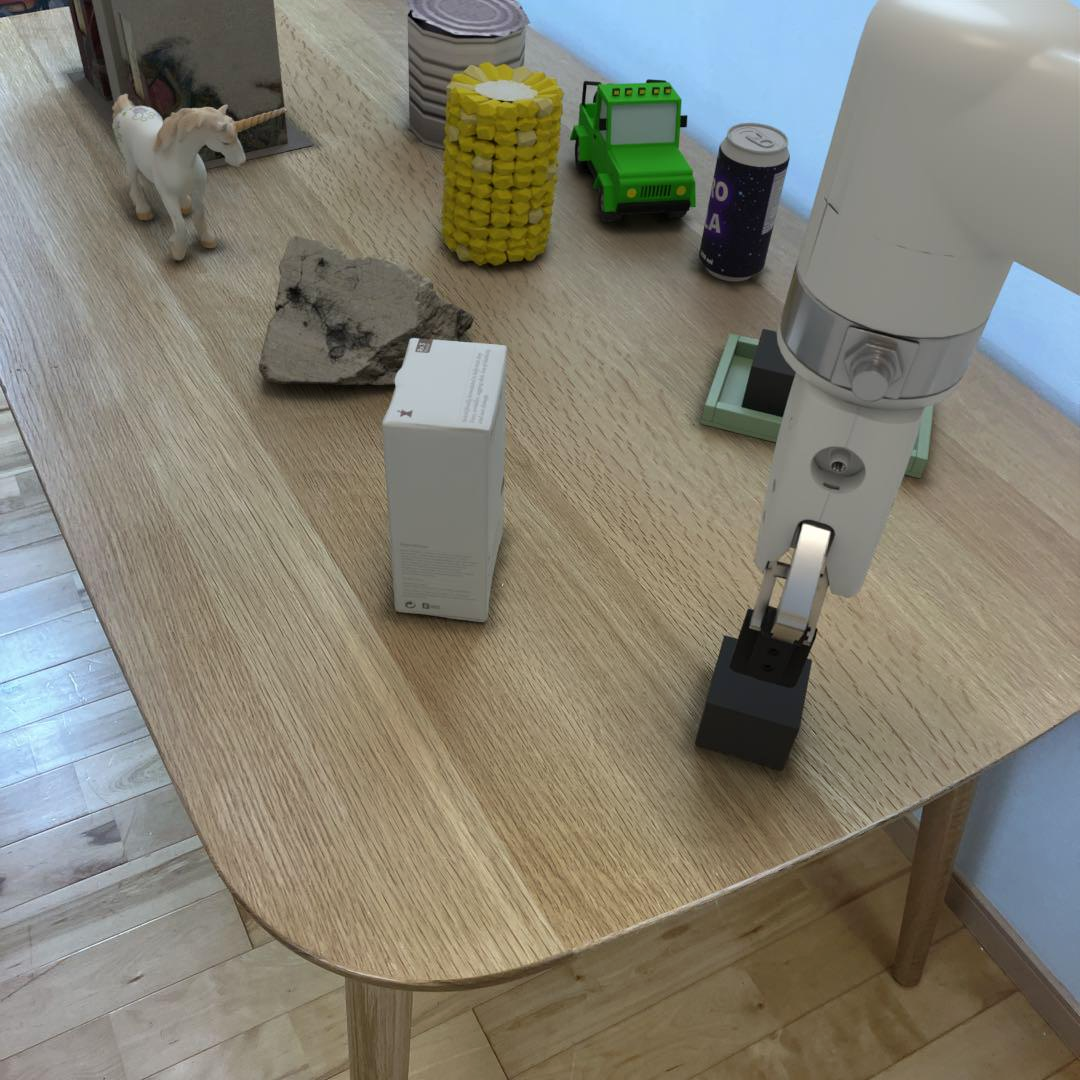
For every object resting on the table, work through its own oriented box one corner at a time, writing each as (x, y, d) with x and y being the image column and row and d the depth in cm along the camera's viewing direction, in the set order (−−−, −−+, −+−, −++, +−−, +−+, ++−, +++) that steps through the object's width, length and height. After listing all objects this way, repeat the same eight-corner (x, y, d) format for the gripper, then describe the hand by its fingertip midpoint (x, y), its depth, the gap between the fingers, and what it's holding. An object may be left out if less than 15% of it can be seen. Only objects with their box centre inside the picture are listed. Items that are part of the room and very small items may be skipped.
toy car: (605, 237, 99) (617, 129, 92) (562, 146, 111) (570, 44, 104) (695, 232, 101) (714, 126, 94) (643, 142, 113) (657, 42, 105)
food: (430, 276, 96) (475, 226, 103) (558, 281, 92) (595, 228, 99) (392, 95, 87) (443, 54, 94) (532, 91, 83) (576, 49, 90)
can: (444, 92, 118) (444, -29, 109) (541, 120, 115) (549, -2, 106) (387, 135, 110) (382, 9, 102) (489, 165, 107) (493, 38, 99)
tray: (929, 399, 86) (936, 381, 85) (920, 478, 79) (927, 459, 78) (725, 351, 89) (729, 332, 87) (700, 423, 82) (704, 404, 81)
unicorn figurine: (239, 300, 89) (215, 141, 80) (80, 215, 96) (40, 59, 87) (303, 263, 93) (287, 108, 84) (146, 184, 101) (115, 33, 91)
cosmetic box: (487, 625, 67) (496, 437, 57) (388, 614, 68) (378, 424, 57) (503, 527, 73) (514, 341, 63) (412, 517, 73) (407, 329, 63)
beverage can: (728, 244, 100) (755, 114, 91) (775, 273, 97) (808, 141, 89) (683, 263, 97) (707, 131, 89) (730, 293, 94) (760, 160, 86)
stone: (494, 377, 84) (499, 261, 77) (269, 416, 80) (253, 296, 72) (450, 293, 92) (450, 180, 85) (242, 324, 87) (224, 207, 80)
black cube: (796, 701, 65) (812, 659, 62) (782, 771, 62) (799, 729, 59) (712, 677, 66) (724, 634, 63) (694, 745, 62) (706, 702, 60)
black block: (816, 386, 86) (829, 343, 83) (807, 425, 82) (820, 382, 79) (752, 371, 86) (763, 328, 83) (740, 409, 83) (751, 365, 80)
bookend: (153, 181, 101) (116, -7, 90) (66, 73, 115) (24, -101, 103) (313, 144, 108) (298, -34, 96) (213, 47, 122) (189, -119, 110)
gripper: (965, 486, 38) (829, 763, 50) (983, 236, 49) (870, 511, 62) (747, 429, 39) (667, 713, 51) (815, 198, 51) (737, 475, 63)
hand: (778, 602), depth 56 cm, fingers open, 9 cm apart
